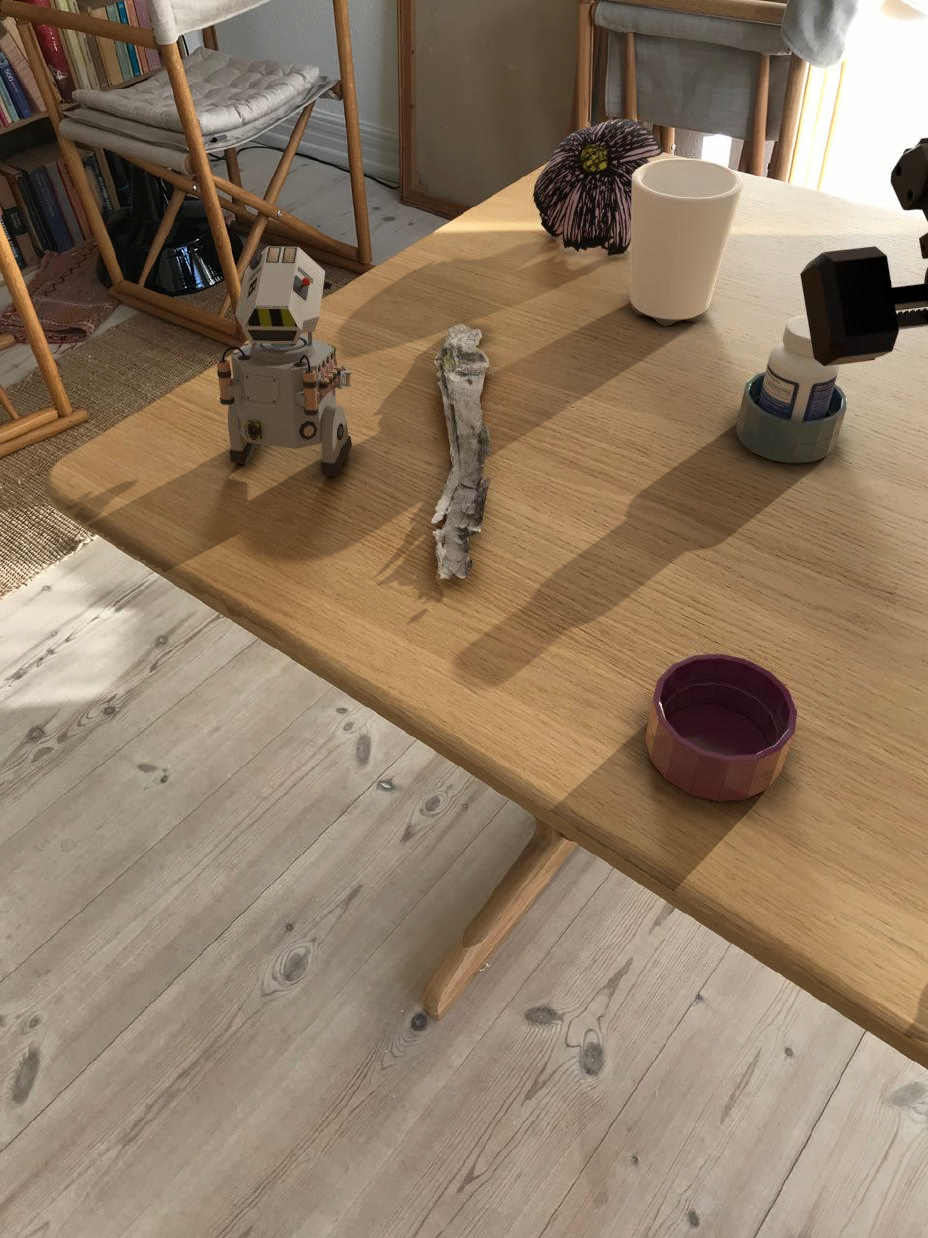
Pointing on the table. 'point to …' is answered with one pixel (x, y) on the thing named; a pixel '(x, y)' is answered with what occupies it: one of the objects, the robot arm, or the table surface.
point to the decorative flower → (594, 184)
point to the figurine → (284, 363)
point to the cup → (679, 235)
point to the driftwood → (462, 448)
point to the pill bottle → (797, 377)
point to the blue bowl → (787, 428)
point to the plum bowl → (720, 726)
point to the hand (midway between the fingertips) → (880, 334)
